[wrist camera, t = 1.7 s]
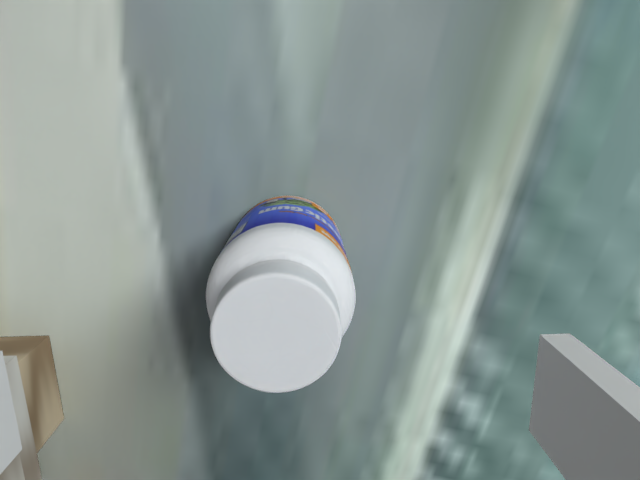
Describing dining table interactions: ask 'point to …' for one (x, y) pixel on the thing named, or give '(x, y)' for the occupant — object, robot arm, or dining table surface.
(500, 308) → the dining table surface
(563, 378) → the robot arm
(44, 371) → the open box
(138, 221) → the dining table surface
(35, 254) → the dining table surface
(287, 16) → the dining table surface
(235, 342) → the pill bottle
